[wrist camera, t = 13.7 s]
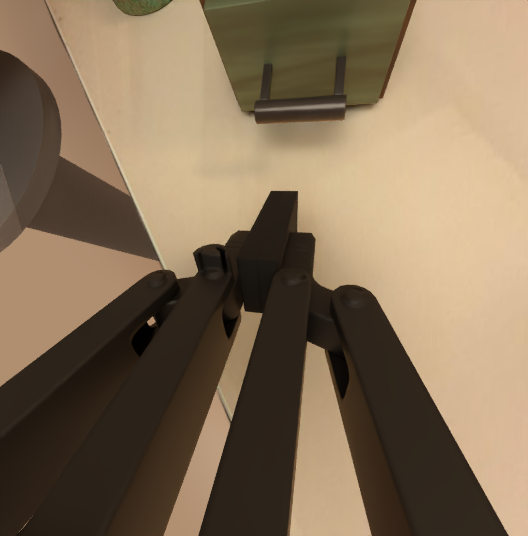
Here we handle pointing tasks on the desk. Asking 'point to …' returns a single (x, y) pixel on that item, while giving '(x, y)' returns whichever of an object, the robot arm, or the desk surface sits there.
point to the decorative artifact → (140, 6)
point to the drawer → (305, 54)
